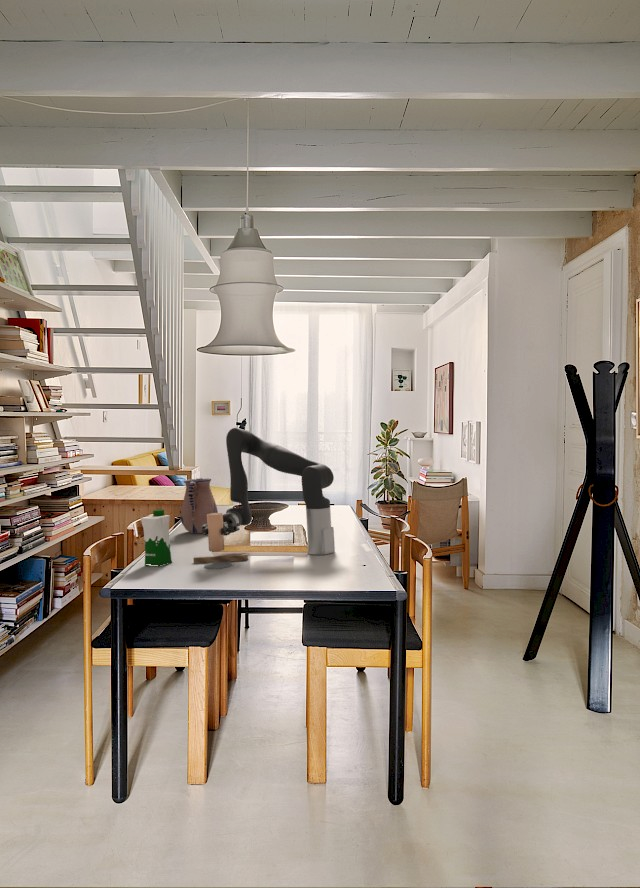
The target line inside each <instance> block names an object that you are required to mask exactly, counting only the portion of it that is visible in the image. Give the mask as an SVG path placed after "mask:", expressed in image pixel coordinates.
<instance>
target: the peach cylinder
mask: <svg viewBox="0 0 640 888" xmlns="http://www.w3.org/2000/svg"><path fill="white" fill-rule="evenodd" d="M223 514H224V513H223V512H218V513H210V514H207V525H208V534H207V542H208V551H209V552H222V551H225V536H224V535H221V528H223Z"/></svg>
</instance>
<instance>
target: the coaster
mask: <svg viewBox="0 0 640 888" xmlns="http://www.w3.org/2000/svg"><path fill="white" fill-rule="evenodd" d="M232 566H233V563H232V561H226V562H209V563H207V564H205V565H204V566H203V567H204V569H209V570H218V569H220V570H221V569H226V568H230V567H232Z"/></svg>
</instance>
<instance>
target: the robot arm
mask: <svg viewBox="0 0 640 888" xmlns="http://www.w3.org/2000/svg"><path fill="white" fill-rule="evenodd" d="M225 438H226V440H225V443H226V450H227V458H228V465H229V466H228V467H229V473H230V474H229V475H230V476H229V477H230V491H229V494H230V495H229V499H230V501H231V502H234V503H239V504H241V507H231V508H228V509H226V511H225V513H223V528H221V535H224V537H225V536H228V535H230V534H231V533H232V534H234V533H236V532H238V531H240V526H248V525H250V524H251V522H252V519H253V516H252V515H253V514H252V511H251V507H250V503H249V495H248V494H249V489H248V488H249V482H248V477H247V473H246V470H245V469H244V465H243V460H242V453H245V454H248V455H252V456H253V457H256V458H258V459H259V460H260V461H262V463H263V464H264V465H266V466H268V467H269V468H272V469H274V470H275V471H278V472H281V473H283V474H288V475H296V476H300V477H301V488H302V499H303V501H304V503H305V511H306V512H305V513H306V514H305V515H306V531H307V549H308V552H307V553H308V555H318V556H319V555H323V556H325V555H329V554H332V553H335V552H336V547H335V546H336V545H335V531H334V526H332V515H331V514H332V513H331V501H330V499H329V498H327V497H325V496H324V493H323V489H326V488H328V487H330V486H331V485H332V484H333V482H334V479H335V477H334V473H333V471H332V470H331V468H330V467H329V466H327V465H326V464H323V463H320V462H317V461H314V460H312V459H311V460H310V459H308V458H306V457H303V456H301V455H299V454H298V453H295V452H293V451H291V450H289V449H287V448H286V447H283V446H281V445H279V444H275V443H272V442H269V441H266V440H264V439H262V438H260V437H259V436H258V435H256V434H254V433H253V432H251V431H249V430H246V429H242V428H240V427H231V429H229V430H228V432H227V434H226V437H225ZM201 534H203V535H204V536H208V525H207V524H204V525H203V526H202V533H201Z"/></svg>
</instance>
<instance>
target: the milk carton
mask: <svg viewBox="0 0 640 888" xmlns="http://www.w3.org/2000/svg"><path fill="white" fill-rule="evenodd" d="M170 516H171V515H170V514H168V515H167V514H165V510H164V509H154V510H152V515H146V516H144V517H140V521H141V524H142V528H143V539H144V540H143V541H144V543H143V544H144V565H145V564H151V565H158V566H160V565H163V564H166V565H168V564H167V563H169V564H172V563H171V562H172V555H171V554H172V553H171V541H170V540H171V539H170V518H171V517H170ZM163 566H164V565H163ZM160 567H161V566H160Z"/></svg>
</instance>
